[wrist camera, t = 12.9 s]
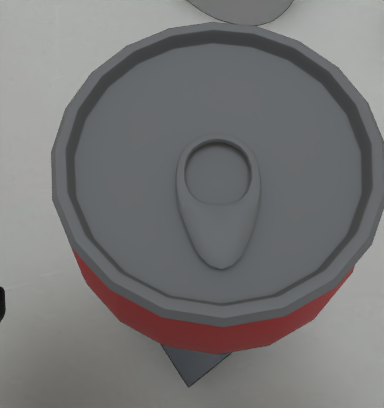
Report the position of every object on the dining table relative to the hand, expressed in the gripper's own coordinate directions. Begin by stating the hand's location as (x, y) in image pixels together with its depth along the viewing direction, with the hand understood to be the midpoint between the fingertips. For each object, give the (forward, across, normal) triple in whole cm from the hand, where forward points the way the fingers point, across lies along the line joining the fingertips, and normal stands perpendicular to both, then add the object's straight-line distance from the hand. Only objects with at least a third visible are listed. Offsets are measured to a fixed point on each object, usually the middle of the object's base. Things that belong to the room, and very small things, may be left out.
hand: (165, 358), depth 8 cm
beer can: (+8, 0, +3) cm, 9 cm away
